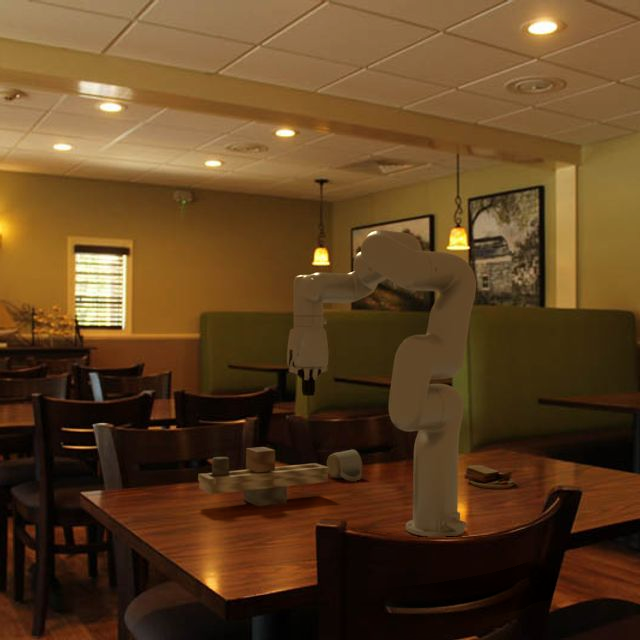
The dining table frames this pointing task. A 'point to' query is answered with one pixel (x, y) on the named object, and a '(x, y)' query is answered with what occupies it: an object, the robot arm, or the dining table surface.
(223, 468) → the beam
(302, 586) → the dining table surface
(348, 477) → the ceramic mug
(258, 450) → the block
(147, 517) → the dining table surface
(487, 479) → the toy sandwich meal
